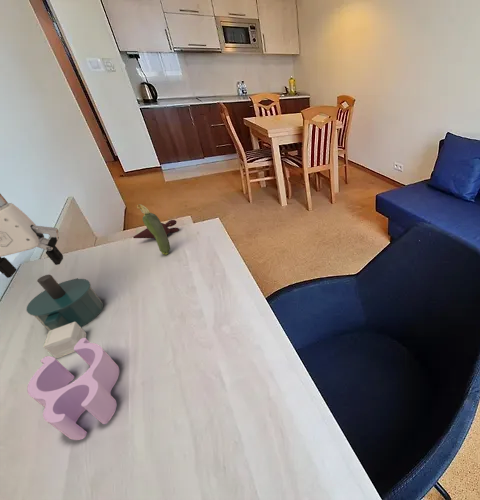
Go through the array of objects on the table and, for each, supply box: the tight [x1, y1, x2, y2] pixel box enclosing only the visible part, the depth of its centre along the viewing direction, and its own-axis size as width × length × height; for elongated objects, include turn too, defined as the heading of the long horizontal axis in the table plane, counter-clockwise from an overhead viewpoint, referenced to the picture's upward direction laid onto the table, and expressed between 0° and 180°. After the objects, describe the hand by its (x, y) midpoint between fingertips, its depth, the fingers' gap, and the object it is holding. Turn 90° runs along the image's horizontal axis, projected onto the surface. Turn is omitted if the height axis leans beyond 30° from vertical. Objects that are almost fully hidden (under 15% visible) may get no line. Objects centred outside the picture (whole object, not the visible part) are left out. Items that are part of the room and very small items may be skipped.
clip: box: [26, 337, 120, 441], centre depth 61 cm, size 20×12×7 cm, turn 43°
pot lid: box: [26, 274, 92, 317], centre depth 78 cm, size 13×13×7 cm
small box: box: [42, 322, 87, 359], centre depth 74 cm, size 6×6×5 cm
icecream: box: [133, 219, 180, 239], centre depth 114 cm, size 7×7×15 cm
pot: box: [34, 277, 104, 332], centre depth 81 cm, size 12×18×8 cm
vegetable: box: [136, 204, 171, 256], centre depth 100 cm, size 4×4×20 cm
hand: (36, 267), depth 74 cm, fingers open, 9 cm apart
